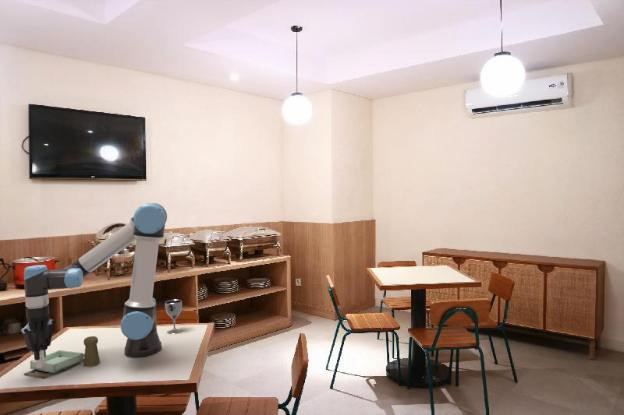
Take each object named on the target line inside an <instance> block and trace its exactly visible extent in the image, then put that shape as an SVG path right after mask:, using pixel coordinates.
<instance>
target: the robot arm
mask: <svg viewBox="0 0 624 415" xmlns="http://www.w3.org/2000/svg"><path fill="white" fill-rule="evenodd" d="M167 220H168V214H167V211H166V209H165V208H164V206H163V205H160V204H159V203H156V202H147V203H144V204H141V205H140V206H138V207H137V209H136V210H135V212H134V214H133V216H132V217H131V218H130V220H129V221H130V222H128V223H127V224H126V225H124V226H122V227H121V228H119V230H117V231H115V233H113V234H112V235H110V236H109V237H107V238H106V239H104V240H103V241H102V242H100V243H98V244H97V245H95V246H94V247H93V248H91V249H89V251H88V252H86V253H84V254H83V255H81V257H79V258H78V259H76V260H75V261H73V262H72V263H70V264H69V265H67V266H65V267H64V268H61V269H59V268H58V269H48V267H47V265H45V264H36V265H31V266H26V267H25V268H24V270H23V284H24V285H23V286H24V297H25V298H24V299H25V302H24V303H25V307H26V308H25V317H26V324H25V326H24V327H23V328H20V330H19V332H20V333H22V335H23V337H24V341H25V344H26V347H27V351H29V352H33V360H36V368H43V367H45V358H44V357H46V355H47V354H46V353H47V349H48V347H51V345H52V338H53V331H54V326H55V324H56V319H51V318H50V316H49V315H50V306H49V304H50V301H49V299H50V298H49V291H53V290H62V289H63V290H65V289H70V290H72V289H75V288H80V287H81V286H82V285H83V283H84V278H85V277H86V276H88V275H89V274H91V273H92V272H93V271H95V270H96V269H98V268H99V267H101V266H102V265H103V264H105V263H106V262H107V261H109V260H110V259H111V258H113V257H114V256H115V255H117V254H118V253H120V252H122V250H124V249H125V248H127V247H128V246H130V245H131V244H132V243H134V242H135V241H136V243H135V248H134V249H135V250H134V259H133V266H132V274H131V276H132V277H131V285H130V290H129V298H128V299H127V301H125V302H124V306H123V315H122V319H121V321H120V331H121V334H122V335H123V336H124V337H126V343H125V346H124V356H126V357H129V358H143V357H148V356H151V355H154V354H155V355H156V354H157V353H159V352H161V351H162V348H163V346H162V345H163V344H162V341H161V340H160V337H159V334H158V329H157V328H158V327H157V326H158V324H157V302H156V301H157V300H156V299H155V298H154V297H153V294H154V285H155V278H156V277H155V276H156V269H157V263H158V262H157V261H158V254H159V246H160V245H159V244H160V241H161V240H162V239H164V237H165V227H166V223H167Z"/></svg>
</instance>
